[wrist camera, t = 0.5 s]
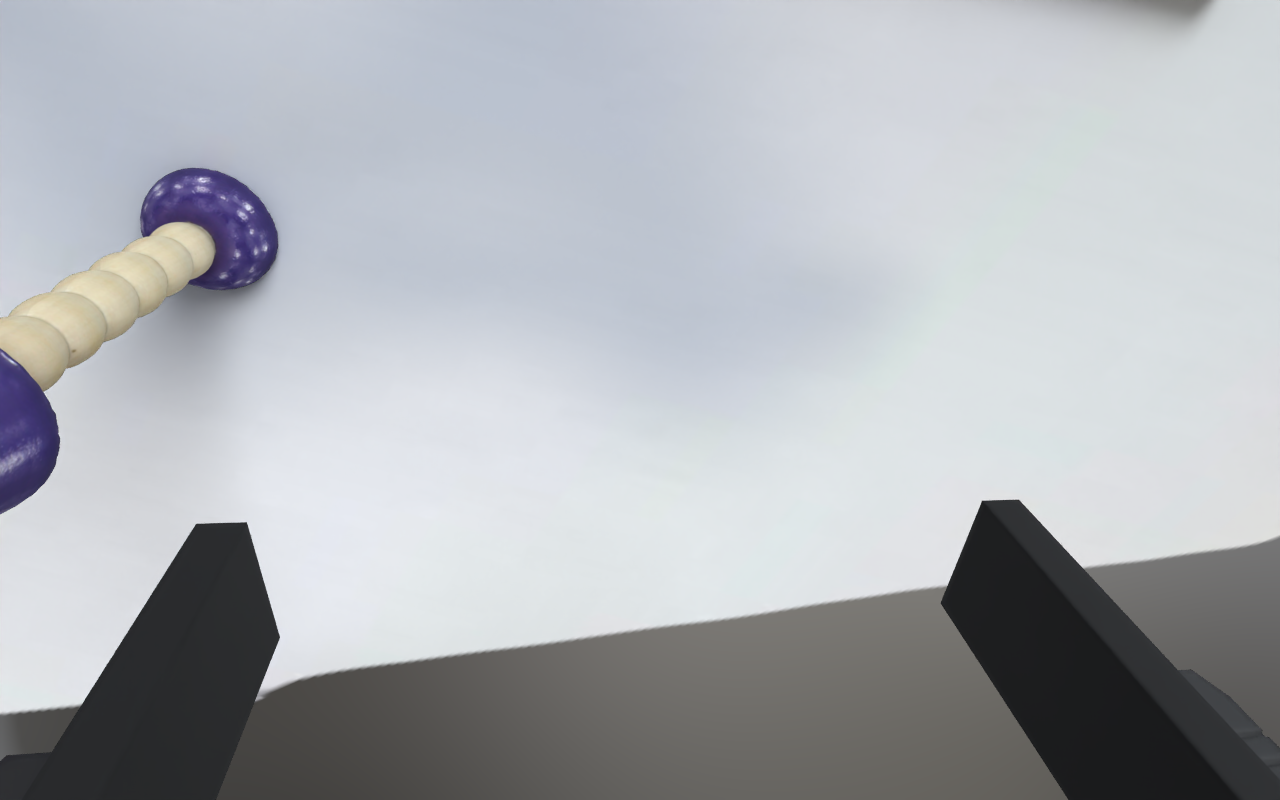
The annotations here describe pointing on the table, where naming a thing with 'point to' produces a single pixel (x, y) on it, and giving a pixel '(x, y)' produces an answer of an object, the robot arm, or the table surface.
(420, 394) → the table surface
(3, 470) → the toy lamp
